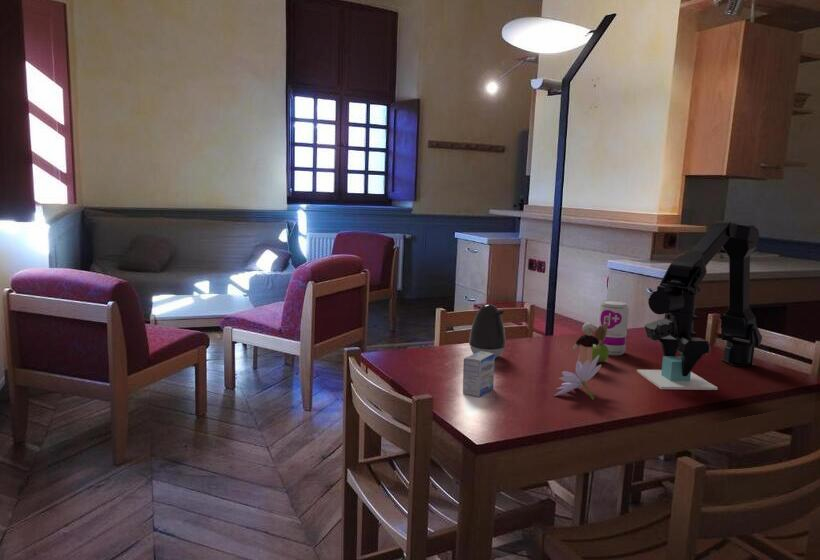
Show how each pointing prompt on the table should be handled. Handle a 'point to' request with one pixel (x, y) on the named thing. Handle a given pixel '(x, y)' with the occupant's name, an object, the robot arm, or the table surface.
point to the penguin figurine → (488, 331)
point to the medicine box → (478, 373)
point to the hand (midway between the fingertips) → (676, 370)
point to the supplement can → (614, 325)
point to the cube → (673, 369)
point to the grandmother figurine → (586, 343)
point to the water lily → (579, 376)
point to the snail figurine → (600, 335)
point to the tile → (664, 383)
